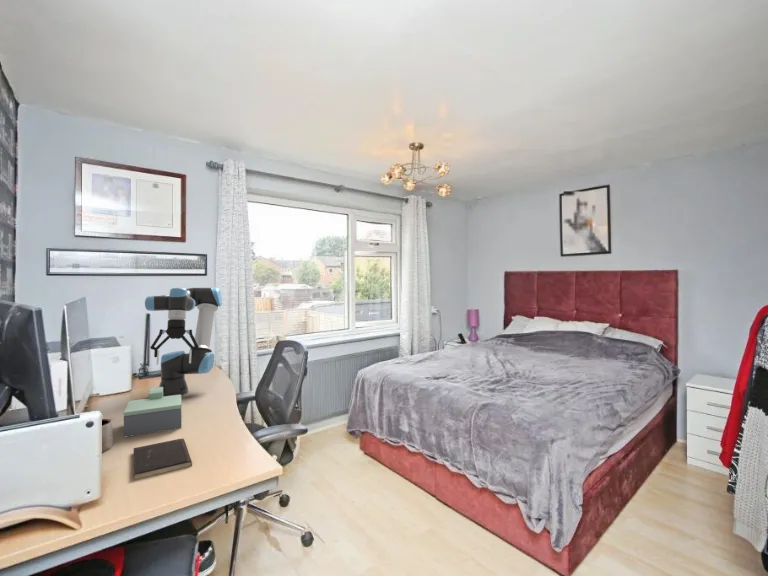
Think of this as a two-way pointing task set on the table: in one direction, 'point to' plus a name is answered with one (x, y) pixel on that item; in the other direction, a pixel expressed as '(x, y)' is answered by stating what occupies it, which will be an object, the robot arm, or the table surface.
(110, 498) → the table surface
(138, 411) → the lid
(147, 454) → the hardcover book
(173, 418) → the tub
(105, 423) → the planter
